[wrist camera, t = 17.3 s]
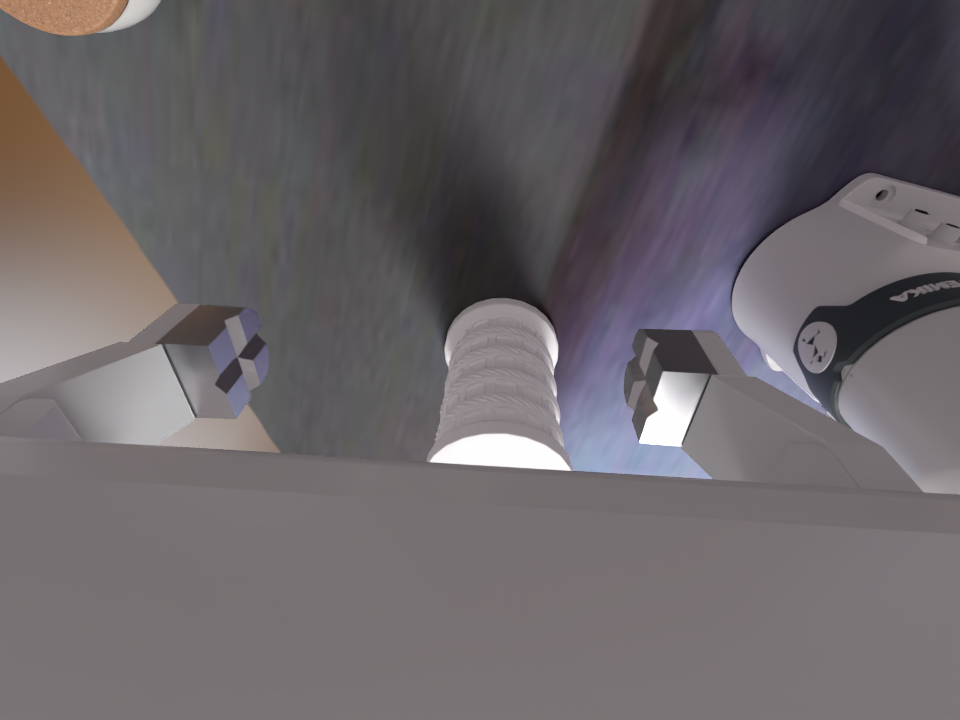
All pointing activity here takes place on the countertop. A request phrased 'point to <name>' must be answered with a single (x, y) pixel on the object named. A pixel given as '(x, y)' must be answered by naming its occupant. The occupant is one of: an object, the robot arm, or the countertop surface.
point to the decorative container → (501, 390)
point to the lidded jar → (79, 14)
